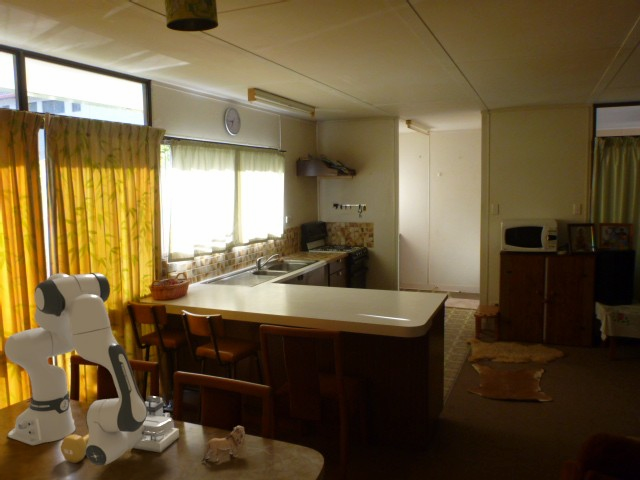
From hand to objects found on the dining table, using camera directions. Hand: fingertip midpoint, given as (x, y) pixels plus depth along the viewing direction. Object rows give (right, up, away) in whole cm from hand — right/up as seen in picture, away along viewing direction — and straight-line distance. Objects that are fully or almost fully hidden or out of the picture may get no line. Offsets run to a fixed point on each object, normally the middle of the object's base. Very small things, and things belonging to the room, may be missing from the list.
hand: (156, 413), depth 180 cm
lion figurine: (+25, -11, -10) cm, 29 cm away
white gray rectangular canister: (0, -9, 0) cm, 9 cm away
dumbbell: (-20, -11, -4) cm, 24 cm away
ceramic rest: (0, -10, 0) cm, 10 cm away
